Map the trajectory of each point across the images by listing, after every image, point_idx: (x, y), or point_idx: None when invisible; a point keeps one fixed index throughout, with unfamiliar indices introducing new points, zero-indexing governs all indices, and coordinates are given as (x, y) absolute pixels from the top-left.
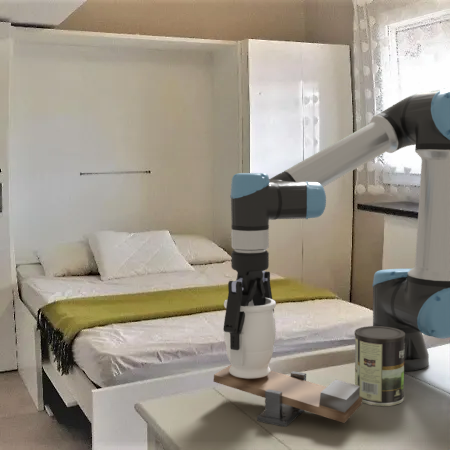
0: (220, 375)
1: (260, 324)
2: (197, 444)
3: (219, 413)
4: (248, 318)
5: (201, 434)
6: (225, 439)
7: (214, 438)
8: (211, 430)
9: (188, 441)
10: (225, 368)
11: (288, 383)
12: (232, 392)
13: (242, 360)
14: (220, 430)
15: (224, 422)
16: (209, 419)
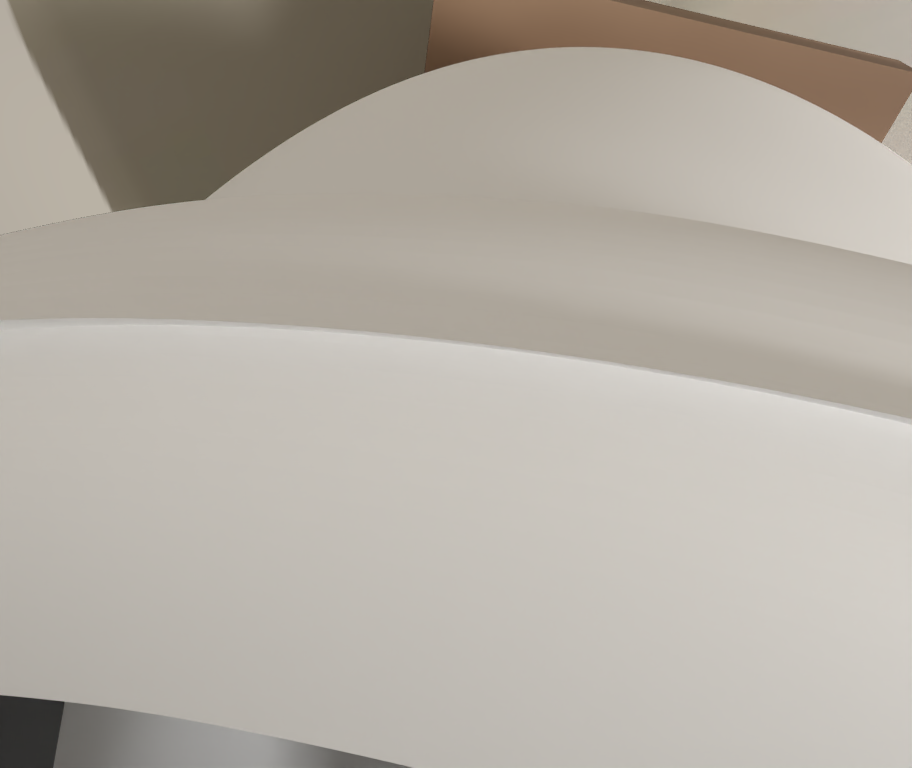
0: (454, 29)
1: (253, 741)
2: (45, 67)
3: (408, 50)
4: (87, 721)
5: (135, 45)
6: (151, 184)
7: (133, 129)
8: (196, 83)
9: (42, 5)
10: (640, 17)
11: None
12: (801, 16)
13: None
14: (217, 131)
15: (307, 122)
16: (310, 17)
